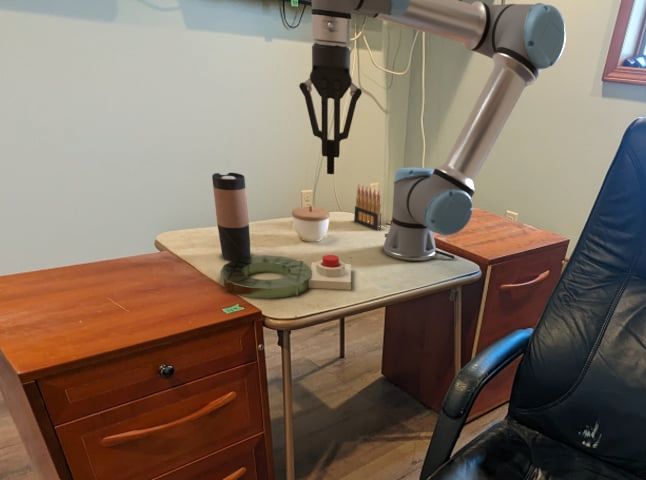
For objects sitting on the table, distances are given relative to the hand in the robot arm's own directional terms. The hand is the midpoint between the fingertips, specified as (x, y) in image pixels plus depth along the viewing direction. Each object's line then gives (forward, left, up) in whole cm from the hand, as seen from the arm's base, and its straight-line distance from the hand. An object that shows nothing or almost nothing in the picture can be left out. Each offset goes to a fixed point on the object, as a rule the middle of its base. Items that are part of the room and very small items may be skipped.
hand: (330, 172), depth 115 cm
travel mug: (+25, -12, -25) cm, 37 cm away
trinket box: (+7, -31, -25) cm, 41 cm away
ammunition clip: (-10, -48, -25) cm, 55 cm away
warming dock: (+15, +3, -25) cm, 29 cm away
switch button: (0, 0, -21) cm, 21 cm away
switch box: (0, 0, -25) cm, 25 cm away
